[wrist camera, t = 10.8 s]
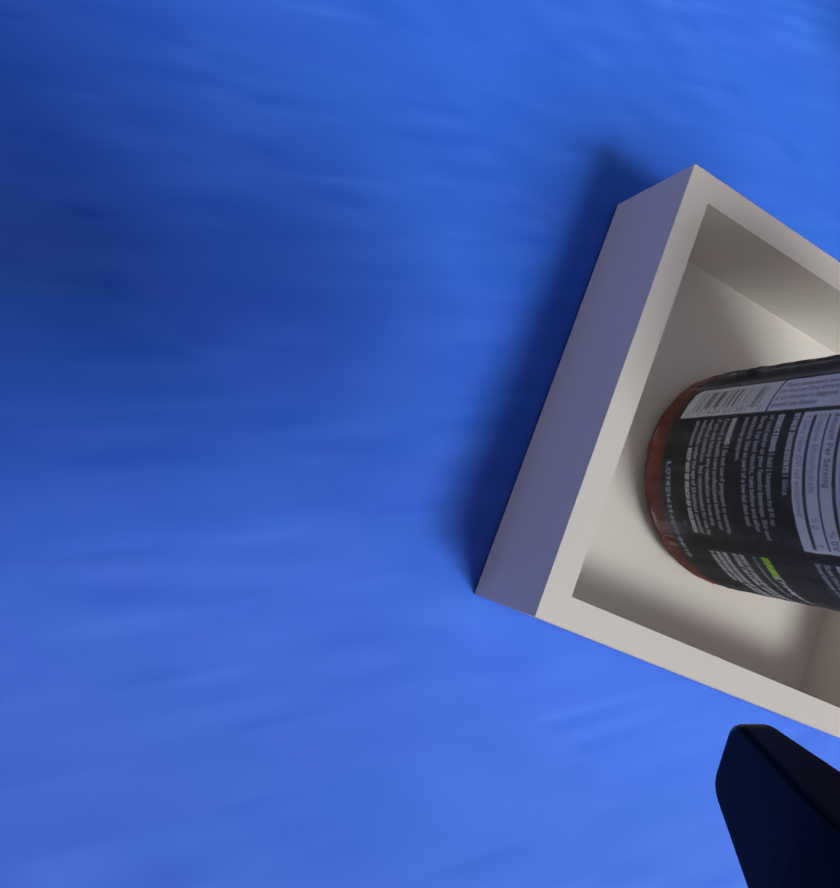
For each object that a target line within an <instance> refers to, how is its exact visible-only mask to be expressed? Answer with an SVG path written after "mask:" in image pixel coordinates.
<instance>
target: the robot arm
mask: <svg viewBox="0 0 840 888" xmlns="http://www.w3.org/2000/svg"><path fill="white" fill-rule="evenodd" d="M715 787H716V794H717V798H718V802H719V805H720V808H721V811H722V813H723V816H724V819H725V822H726V825H727V828H728V831H729V834H730V837H731V840H732V842H733V845H734V848H735V851H736V854H737V857H738V860H739V863H740V866H741V869H742V871H743V874H744V877H745V880H746V883H747V886H748V888H840V772H839V771H838V770H836V769H835V768H833V767H832V766H830V765H829V764H827V763H826V762H824V761H823V760H821V759H820V758H818V757H817V756H815V755H814V754H812V753H811V752H809V751H808V750H806V749H805V748H803V747H802V746H800V745H799V744H797V743H796V742H794V741H793V740H791V739H790V738H788V737H787V736H785V735H784V734H782V733H781V732H779V731H778V730H776V729H775V728H773V727H771V726H769V725H764V724H739V725H736V726H735V727H733V728H732V730H731V731H730V733H729V736H728V739H727V742H726V745H725V749H724V752H723V755H722V758H721V761H720V764H719V768H718V771H717V774H716V781H715Z"/></svg>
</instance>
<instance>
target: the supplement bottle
mask: <svg viewBox="0 0 840 888" xmlns="http://www.w3.org/2000/svg"><path fill="white" fill-rule="evenodd" d="M644 477H645V497H646V499H647V508H648V512H649V515H650V518H651V521H652V523H653V525H654V527H655V530H656V532H657V534H658V536H659V538H660V540H661V542H662V543H663V545H664V546H665V548H666V549H667V551H668V552H669V554H670V555H672V557H673V558H674V559H675V560H676V561H677V562H678V563H679V564H680V565H681V566H683V567H684V568H685V569H686V570H688V571H689V572H690V573H692V574H693V575H695V576H697V577H698V578H701V579H703V580H705V581H708V582H710V583H712V584H717V585H720V586H724V587H726V588H729V589H734V590H738V591H743V592H749V593H754V594H758V595H762V596H767V597H772V598H777V599H782V600H786V601H791V602H797V603H801V604H805V605H809V606H817V607H821V608H826V609H830V610H835V611H840V354H838V355H833V356H828V357H823V358H815V359H807V360H800V361H795V362H788V363H782V364H778V365H772V366H760V367H757V368H751V369H746V370H737V371H732V372H728V373H724V374H722V375H716V376H713V377H710V378H707V379H704V380H702V381H700V382H696V383H694V384H693V385H691V386H690V387H689V388H687V389H686V390H684V391H683V392H682V393H681V394H680V395H679V396H678V397H677V398H676V399H675V400H674V401H673V403H672V404H671V405H670V406H669V407H668V408H667V410H666V411H665V412H664V414H663V415H662V416H661V418H660V421H659V423H658V424H657V426H656V427H655V429H654V432H653V435H652V438H651V440H650V442H649V447H648V451H647V459H646V462H645V473H644Z"/></svg>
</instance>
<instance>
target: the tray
mask: <svg viewBox="0 0 840 888" xmlns="http://www.w3.org/2000/svg"><path fill="white" fill-rule="evenodd" d="M838 354H840V262H838V261H837V260H835V259H834V258H832V257H831V256H830V255H828V254H827V253H825V252H824V251H822V250H821V249H819V248H818V247H816V246H815V245H813V244H812V243H811V242H809V241H808V240H806V239H805V238H803V237H802V236H800V235H799V234H797V233H796V232H794V231H793V230H791V229H790V228H789V227H787V226H786V225H784V224H783V223H781V222H780V221H778V220H777V219H775V218H774V217H772V216H771V215H770V214H768V213H767V212H765V211H764V210H762V209H761V208H759V207H758V206H756V205H755V204H753V203H752V202H751V201H749V200H748V199H746V198H745V197H743V196H742V195H740V194H739V193H737V192H736V191H734V190H733V189H732V188H730V187H729V186H727V185H726V184H724V183H723V182H721V181H720V180H718V179H717V178H715V177H714V176H713V175H711V174H710V173H708V172H707V171H705V170H704V169H702V168H701V167H699V166H698V165H696V164H693V165H691V166H689V167H688V168H686V169H684V170H682V171H680V172H678V173H676V174H674V175H672V176H671V177H669V178H667V179H665V180H663V181H661V182H659V183H657V184H655V185H654V186H652V187H650V188H648V189H646V190H644V191H642V192H640V193H638V194H637V195H635V196H633V197H631V198H629V199H627V200H625V201H623V202H621V203H620V204H618V206H617V208H616V211H615V214H614V216H613V219H612V222H611V225H610V227H609V230H608V233H607V235H606V238H605V241H604V244H603V246H602V249H601V252H600V254H599V257H598V260H597V263H596V265H595V268H594V271H593V273H592V276H591V279H590V282H589V284H588V287H587V290H586V292H585V295H584V298H583V301H582V303H581V306H580V309H579V311H578V314H577V317H576V320H575V322H574V325H573V328H572V330H571V333H570V336H569V339H568V341H567V344H566V347H565V349H564V352H563V355H562V358H561V360H560V363H559V366H558V368H557V371H556V374H555V377H554V379H553V382H552V385H551V387H550V390H549V393H548V396H547V398H546V401H545V404H544V406H543V409H542V412H541V415H540V417H539V420H538V423H537V425H536V428H535V431H534V434H533V436H532V439H531V442H530V444H529V447H528V450H527V453H526V455H525V458H524V461H523V463H522V466H521V469H520V472H519V474H518V477H517V480H516V482H515V485H514V488H513V491H512V493H511V496H510V499H509V501H508V504H507V507H506V510H505V512H504V515H503V518H502V520H501V523H500V526H499V529H498V531H497V534H496V537H495V540H494V542H493V545H492V548H491V550H490V553H489V556H488V559H487V561H486V564H485V567H484V569H483V572H482V575H481V578H480V580H479V583H478V586H477V588H476V591H475V594H476V595H478V596H481V597H483V598H486V599H488V600H491V601H494V602H496V603H499V604H501V605H504V606H506V607H509V608H511V609H514V610H516V611H519V612H521V613H524V614H526V615H529V616H531V617H534V618H536V619H539V620H542V621H544V622H547V623H549V624H552V625H554V626H557V627H559V628H562V629H564V630H567V631H569V632H572V633H574V634H577V635H579V636H582V637H584V638H587V639H589V640H592V641H595V642H597V643H600V644H602V645H605V646H607V647H610V648H612V649H615V650H617V651H620V652H622V653H625V654H627V655H630V656H632V657H635V658H637V659H640V660H642V661H645V662H648V663H650V664H653V665H655V666H658V667H660V668H663V669H665V670H668V671H670V672H673V673H675V674H678V675H680V676H683V677H685V678H688V679H690V680H693V681H695V682H698V683H701V684H703V685H706V686H708V687H711V688H713V689H716V690H718V691H721V692H723V693H726V694H728V695H731V696H733V697H736V698H738V699H741V700H743V701H746V702H749V703H751V704H754V705H756V706H759V707H761V708H764V709H766V710H769V711H771V712H774V713H776V714H779V715H781V716H784V717H786V718H789V719H791V720H794V721H797V722H799V723H802V724H804V725H807V726H810V727H812V728H815V729H817V730H820V731H822V732H825V733H828V734H830V735H833V736H835V737H838V738H840V611H835V610H830V609H826V608H821V607H817V606H809V605H805V604H801V603H797V602H791V601H786V600H782V599H777V598H772V597H767V596H762V595H758V594H754V593H749V592H743V591H738V590H734V589H729V588H726V587H724V586H720V585H717V584H712V583H710V582H708V581H705V580H703V579H701V578H698V577H697V576H695V575H693V574H692V573H690V572H689V571H688V570H686V569H685V568H684V567H683V566H681V565H680V564H679V563H678V562H677V561H676V560H675V559H674V558H673V557H672V555H670V554H669V552H668V551H667V549H666V548H665V546H664V545H663V543H662V542H661V540H660V538H659V536H658V534H657V532H656V530H655V527H654V525H653V523H652V521H651V518H650V515H649V512H648V508H647V499H646V497H645V477H644V473H645V462H646V459H647V451H648V447H649V442H650V440H651V438H652V435H653V432H654V429H655V427H656V426H657V424H658V423H659V421H660V418H661V416H662V415H663V414H664V412H665V411H666V410H667V408H668V407H669V406H670V405H671V404H672V403H673V401H674V400H675V399H676V398H677V397H678V396H679V395H680V394H681V393H682V392H683V391H684V390H686V389H687V388H689V387H690V386H691V385H693V384H694V383H696V382H700V381H702V380H704V379H707V378H710V377H713V376H716V375H722V374H724V373H728V372H732V371H737V370H746V369H751V368H757V367H760V366H772V365H778V364H782V363H788V362H795V361H800V360H807V359H815V358H823V357H828V356H833V355H838Z"/></svg>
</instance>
